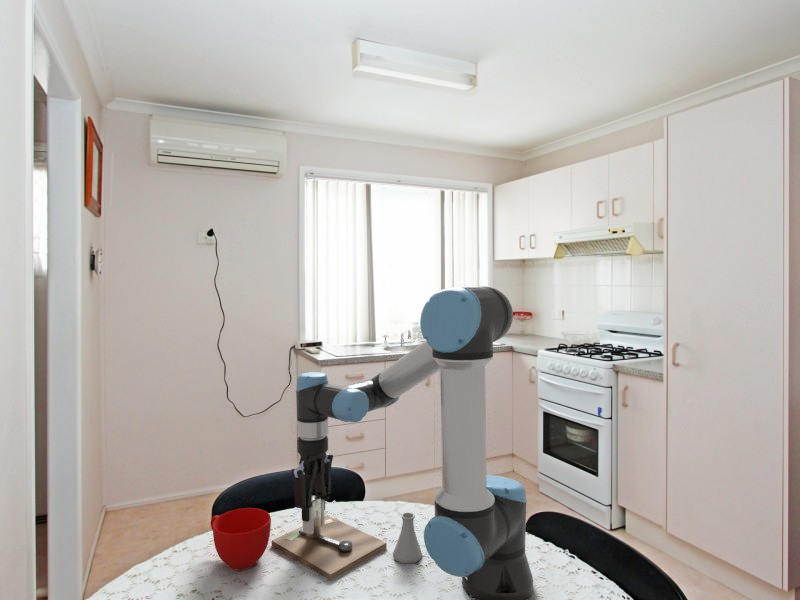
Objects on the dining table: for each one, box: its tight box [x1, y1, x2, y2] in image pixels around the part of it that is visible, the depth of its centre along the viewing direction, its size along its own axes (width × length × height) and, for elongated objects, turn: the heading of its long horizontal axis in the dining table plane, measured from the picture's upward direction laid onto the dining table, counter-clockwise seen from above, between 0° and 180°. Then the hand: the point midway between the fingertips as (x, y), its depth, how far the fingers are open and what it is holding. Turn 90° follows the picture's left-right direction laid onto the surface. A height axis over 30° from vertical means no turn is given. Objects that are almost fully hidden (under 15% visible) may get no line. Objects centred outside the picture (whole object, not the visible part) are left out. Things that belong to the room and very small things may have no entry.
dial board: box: [271, 515, 387, 582], centre depth 128 cm, size 22×18×2 cm
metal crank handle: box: [299, 495, 352, 552], centre depth 127 cm, size 16×4×10 cm, turn 57°
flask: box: [392, 511, 424, 564], centre depth 124 cm, size 7×7×10 cm
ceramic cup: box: [210, 507, 272, 571], centre depth 122 cm, size 13×17×10 cm
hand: (313, 528), depth 129 cm, fingers closed on metal crank handle, 4 cm apart
